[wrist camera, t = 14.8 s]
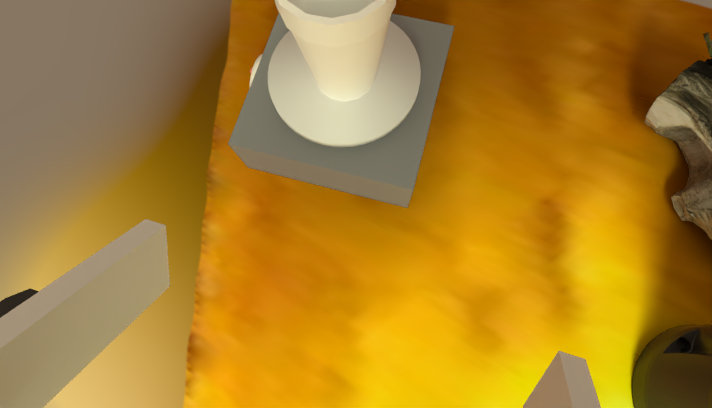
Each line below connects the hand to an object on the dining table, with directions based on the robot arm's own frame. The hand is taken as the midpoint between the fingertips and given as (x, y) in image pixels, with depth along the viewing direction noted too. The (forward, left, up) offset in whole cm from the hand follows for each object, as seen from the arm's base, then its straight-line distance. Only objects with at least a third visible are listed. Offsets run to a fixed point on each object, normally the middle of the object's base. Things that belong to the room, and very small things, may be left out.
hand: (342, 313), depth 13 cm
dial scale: (+8, -23, -32) cm, 40 cm away
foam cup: (+8, -23, -23) cm, 33 cm away
